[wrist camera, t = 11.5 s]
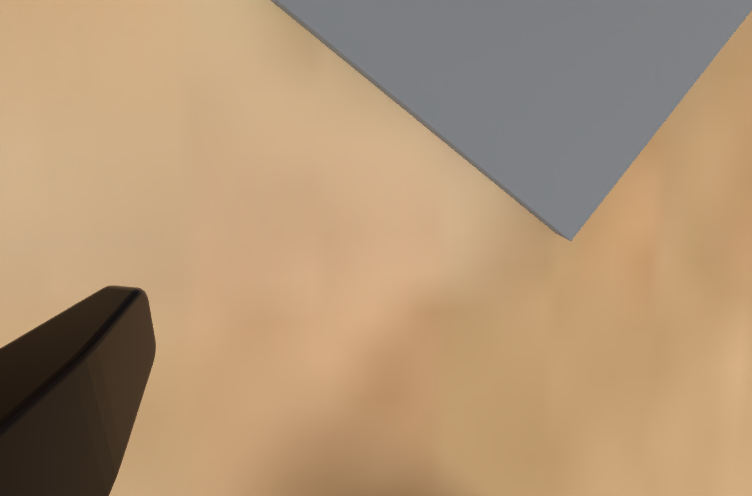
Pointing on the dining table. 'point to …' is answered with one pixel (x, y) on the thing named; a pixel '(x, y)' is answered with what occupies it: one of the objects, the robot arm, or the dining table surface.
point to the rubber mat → (532, 81)
